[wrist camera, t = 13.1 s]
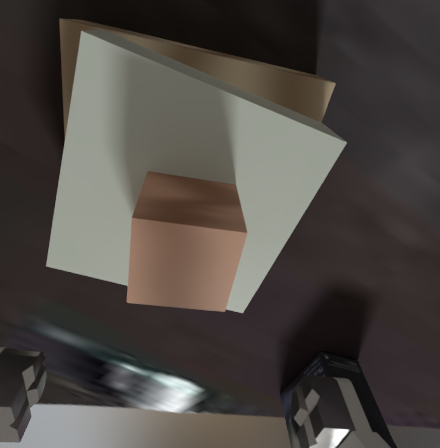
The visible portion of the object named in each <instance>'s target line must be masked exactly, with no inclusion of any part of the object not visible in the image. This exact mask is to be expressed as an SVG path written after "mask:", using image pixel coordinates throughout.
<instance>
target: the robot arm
mask: <svg viewBox="0 0 440 448" xmlns="http://www.w3.org/2000/svg"><path fill="white" fill-rule="evenodd" d="M44 360H45V356H44V352H42V351H31V350H21V349H10V348H3V347H0V442H20V441H21V439H22V437H23V435H24V432H25V430H26V428H27V426H28V423H29V421H30V419H31V412H30V407H32V406H33V405H34V404H35V403H37V402H38V401H39V399H40V396H41V394H42V392H43V389H44V385H45V382H46V375H47V371H46V367H45V366H44V365H42V364H43V362H44ZM300 383H301V386H299V387H297V388H295V390H294V392H293V394H292V402H291V404H292V413H293V417H294V419H295V421H296V422H297V423H298V424H299V426H300V427H299V430H298V432H297V435H298V440H299V444H300V448H391V447H390V446H389V445H388V444H387V443H386V442H385V441H384V440H383V439H382V438H381V437H380V436H379V434H378V433H377V432H372V430H371V428H370V425H369V423H368V420H367V418H366V416H365V413H364V411H363V408H362V406H361V404H360V401H359V399H358V397H357V394H356V392H355V389H354V387H353V385H352V382H351V381H350V380H349V379H346V378H336V377H328V376H313V375H304V376H302V378H301V380H300Z"/></svg>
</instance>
